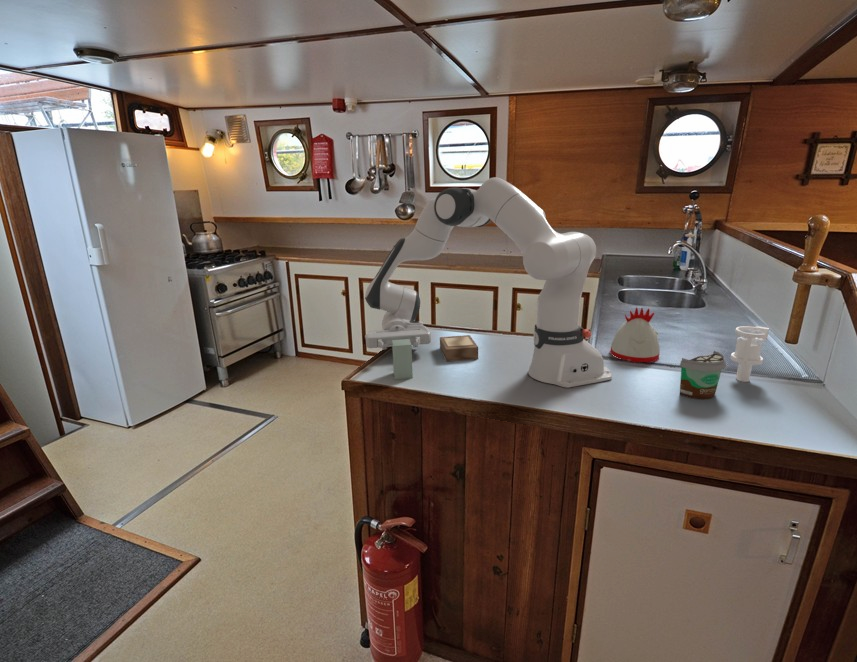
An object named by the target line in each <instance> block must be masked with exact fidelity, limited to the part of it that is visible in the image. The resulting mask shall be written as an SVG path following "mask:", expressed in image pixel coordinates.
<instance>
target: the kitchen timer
mask: <svg viewBox="0 0 857 662" xmlns="http://www.w3.org/2000/svg"><path fill="white" fill-rule="evenodd" d="M643 309H644V308H643V307H641V309H640V311H639V310H638V307H636V308H635V311H634V313H633V312H632V310H629V315H630V317H628V316H627V315H626V314H624V318H625V320H626V321H625V322H623V323H622V324H621V326H620V327H619V328H618V330H617V331H616V333H615V335H614V338H613V340H612V342H611V345H610V352H611V353H610V354H613V355H614V356H616V357H618V358H621V359H624V360H628V361H627V362H629V361H632V362H631V363H637V362H647V363H652V362H651V361H653V362H656V361H658V360H659V359H660V353H661V352H660V351H661V350H660V349H661V348H660V347H661V346H660V344H659V343H660V342H659V339H658V334H659V333H658V332H657V331H656V330H655V329H654V327H653V325H652V324H651V323H650V322H651V320H652V319H653V317H654V315H655V312H652V313H651V314H650V308H647V309H646V312H645V313H644V310H643ZM613 355H612V356H613ZM614 356H613V357H614ZM616 357H615V358H616ZM618 358H617V359H618ZM621 359H620V360H621ZM624 360H623V361H624Z"/></svg>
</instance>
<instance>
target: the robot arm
mask: <svg viewBox="0 0 857 662" xmlns="http://www.w3.org/2000/svg"><path fill="white" fill-rule="evenodd" d="M546 218H547V217H546V213H545V211H544V209H542V208H541V207H540V206H538V205H537V203H535V202H534V201H533V200H532V199H531V198H529V196H527V195H526V194H525V193H524V192H522V191H521V190H520V189H518V188H517V187H516V186H515V185H513V184H512V183H510V182H508V181H507V180H504V179H502V178H500V177H495V176H494V177H489V178H488V179H487V180H485V181H484V182H483V183H482V184H481V185H480V186H479V188H477V189H472V188H468V187H467V188H466V187H462V188H461V187H448V188H446V189H443V190H441V191H440V192H439V193H438V194H437V195H436V197H433V198H431V199H429V200H428V201H427V202H426V205H425V206H424V208H423V209H422V211H421V213H420V215H419V217H418V219H417V221H416V222H415V223H416V224H415V226H414V229H412V231H411V233H410V234H409V235H407V236H406V237H403V238H400V239H398V240H397V241H396V243H395V244H394V245H393V247H392V249H391V250H390V252H389V254H388V255H387V257H386V258H385V260H384V262H383V263H382V265H381V267H380V268H379V270H378V272H377V273H376V275H375V276H374V278H373V279H372V280H371V281H370V283H369V284H368V286H367V288H366V290H365V294H364V295H365V296H364V299H365V302H366V303H367V305H368V307H370V308H371V309H375V310H381V311H385V313H384V315H383V316H382V320H381V321H382V322H381V326H382V327H381V328H382V329H379V330H378V329H377V330H370V331H368V332H367V333H366V334H365V335H364V339H365V343H366V348H368V349H376V348H377V349H382V351H383V350H388V348H389V347H391V348H392V340H402V339H410V342H411V346H412V347H413V348H418V347H419V345H429V344H430V343H431V341H432V335H431V331H430V330H429V328H428V326H425V325H424V322H423V321H420V320H416V319H417V316H418V315H419V311H420V307H421V298H420V295H419V293H418V291H416V290H414V289H412V288H409V287H405V286H402V285H398V284H396V283H392V282H391V281H389V280H390V278H391V277H392V275H393V273H394V272H395V271H396V269H397V267H398V266H399V265H400V264H403V263H404V262H410V261H428V260H432V259H434V258H436V257H438V256H440V255H441V253H442V252H443V250H444V249H445V247H446V244H447V242H448V240H449V238H450V235H451V232H452V230H454V227H459V228H460V227H461V228H481V227H484V226H486V225H489V224H490V223H491V222H493V224H495V225H496V226H497V228H499V229H500V230H501V231H502V232H503V233H504V234H505V235H506V236H507V237H508V238H509V239H511V240H512V242H513V243H514V244H515V245H516V247H517V248H518V249H519V251H520V253H521V255H522V263H523V267H524V270H525V272H526V273H527V274H528V276H530V277H531V278H532V279H534V280H539V281H545V282H544V285H543V287H542V289H541V291H540V293H539V295H538V297H537V301H536V305H537V306H536V324H535V325H534V329H533V330H534V331H533V345H534V347H533V354H532V359H531V362H530V365H529V369H528V371H527V373H528V375H529V376H530V377H531V378H532V379H534V380H536V381H539V382H542V383H545V384H553V385H557V386H559V387H562V388H572V387H578V386H583V385H584V386H585V385H589V384H594V383H595V384H596V383H601V382H605V381H611V380H612V378H613V375H612V372H611V370H610V369H609V368H608V367H607V366H606V365H605V364H604V357H603V355H602V353H601V352H600V350H598V349H597V348H596V347H594V346H593V345H592V344H590V343H589V342H588V341H587V340H586V339H590V338H591V336H592V331H590V330H589V329H587V328H585V329H584V328H583V327H582V326H580V325H579V320H580V319H579V318H580V309H581V308H580V305H581V299H582V295H583V292H584V291H583V290H584V286H585V285H586V280H587V276H588V273H589V269H590V267H591V265H592V263H593V262H594V260H595V258H596V255H597V246H596V243H595V241H594V239H593V238H592V237H591V236H589V235H588V234H586V233H582V232H579V231H568V232H564V233H560V232H557V231H555V230H554V228H553V227H552V226H551V225H550V223H549V222H548V220H547V219H546ZM584 338H586V339H584Z"/></svg>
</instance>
